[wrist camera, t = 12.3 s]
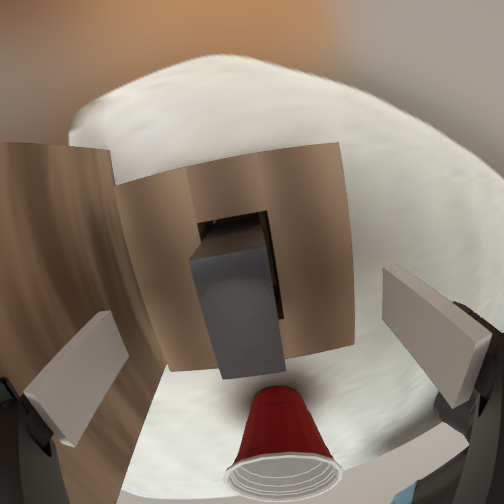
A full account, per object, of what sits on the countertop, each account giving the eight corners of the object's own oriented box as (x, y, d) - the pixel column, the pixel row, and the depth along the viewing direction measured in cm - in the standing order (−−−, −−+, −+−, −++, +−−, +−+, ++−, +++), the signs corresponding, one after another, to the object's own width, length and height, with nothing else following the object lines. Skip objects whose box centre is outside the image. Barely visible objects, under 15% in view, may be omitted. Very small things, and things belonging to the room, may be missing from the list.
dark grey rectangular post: (257, 209, 22) (266, 247, 10) (269, 278, 23) (286, 371, 12) (220, 215, 22) (188, 260, 10) (234, 284, 23) (222, 379, 12)
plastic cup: (250, 356, 27) (251, 451, 15) (337, 380, 28) (367, 461, 16) (216, 415, 29) (207, 495, 18) (293, 432, 31) (303, 506, 19)
